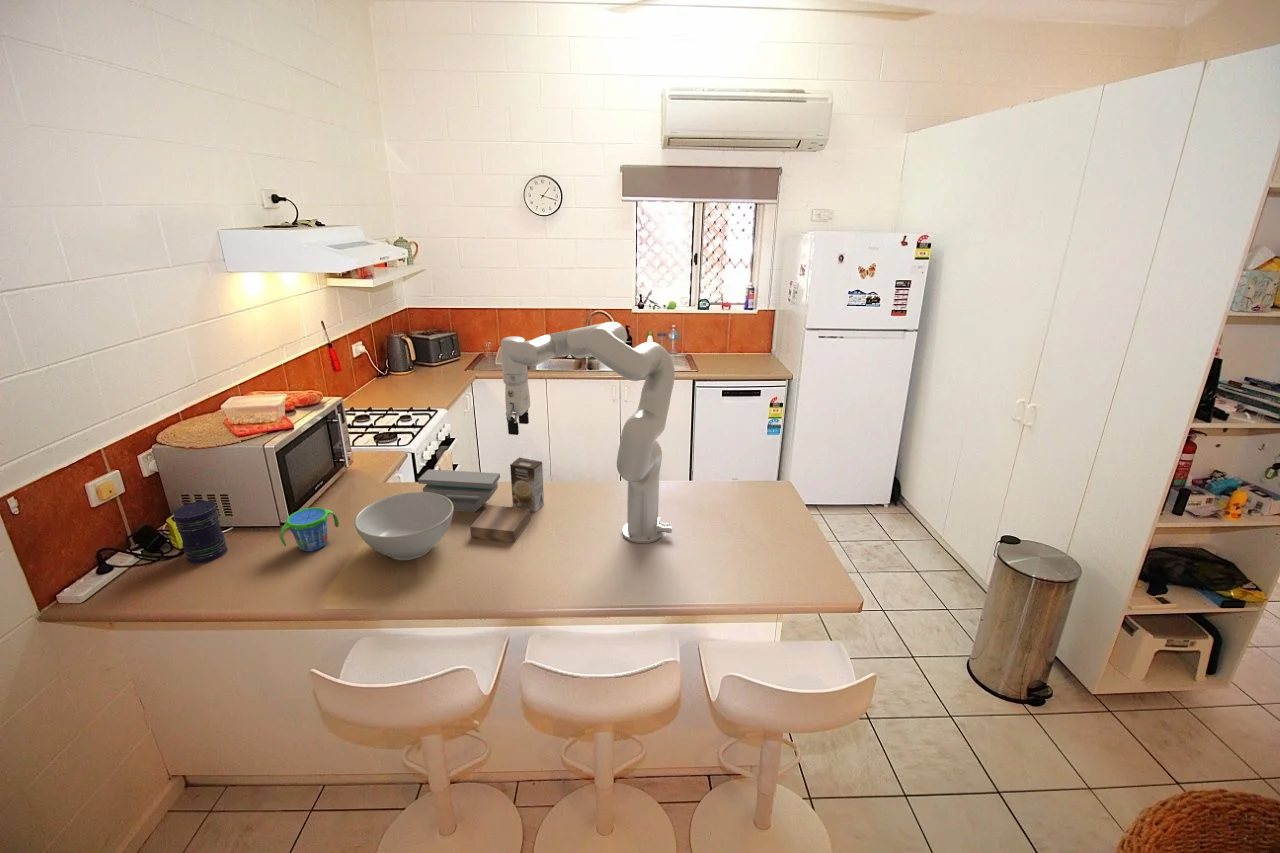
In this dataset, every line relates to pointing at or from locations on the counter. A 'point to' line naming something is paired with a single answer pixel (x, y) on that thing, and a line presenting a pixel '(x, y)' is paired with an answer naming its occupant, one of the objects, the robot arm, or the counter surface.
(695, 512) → the counter surface
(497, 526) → the walnut riser
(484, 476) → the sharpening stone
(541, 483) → the coffee box
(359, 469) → the counter surface
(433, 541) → the decorative bowl
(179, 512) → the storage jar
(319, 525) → the snack cup
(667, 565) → the counter surface
